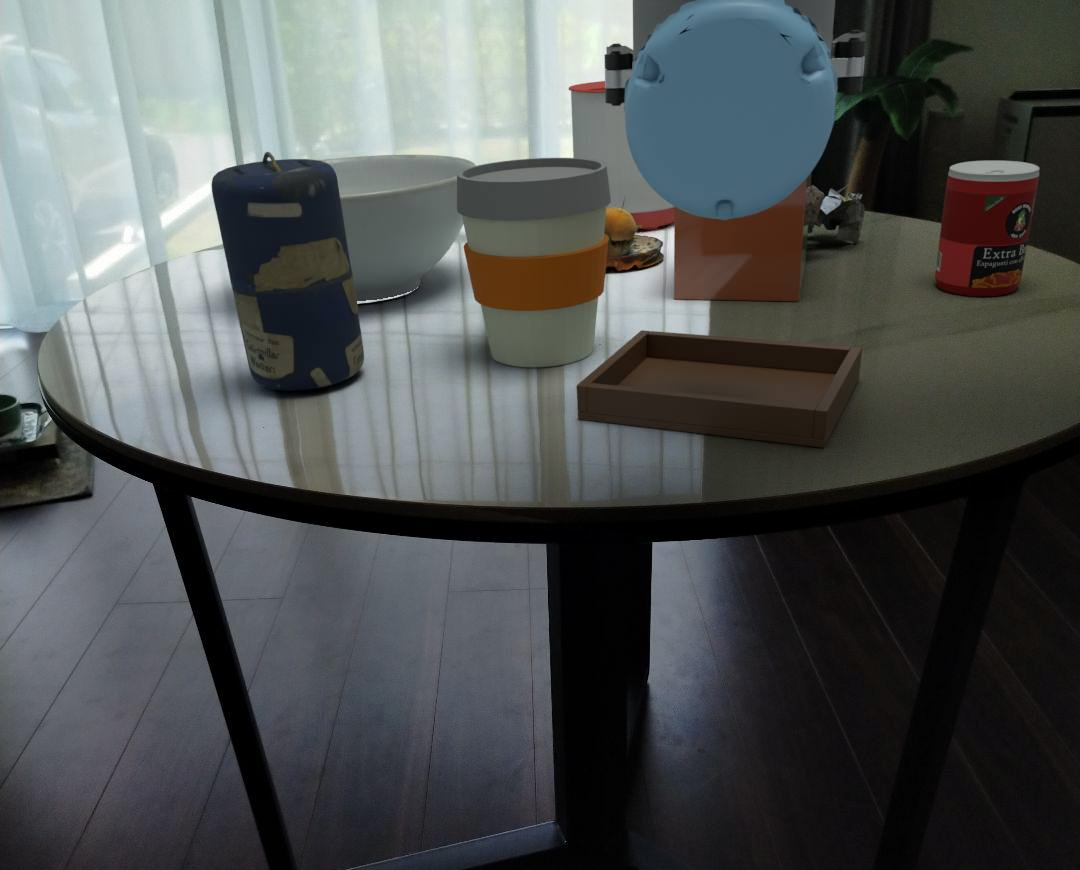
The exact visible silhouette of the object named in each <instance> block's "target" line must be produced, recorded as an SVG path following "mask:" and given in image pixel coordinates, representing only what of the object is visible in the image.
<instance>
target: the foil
mask: <svg viewBox="0 0 1080 870" xmlns="http://www.w3.org/2000/svg"><path fill="white" fill-rule="evenodd" d="M849 185H850V183H848V184H847V185H845V186H844V187H842V188H840V189H839V190H835V189H833V188H830V189H829V191H828V195H825V194H824V192H822V191H821V190H820V189H819V188H818V187H816V186H815V185H814V184H811V190H810V204H809V219H808V233H807V236H808V235H809V234H812V233H813V232H814V231H813V229H814V228H815V226H816V227H818V228H822V227H821V226H822V225H823V226H824V228H825V230H827V231H836V229H837V227H838V231H837V233H836V236H835V240H837V241H843V242H846V243H848V244H853V245H854V244H856V243H857V242H858V241H859V240H860V238H861V231H862V228H863V221H864V218H865V210H866V208H865V204H864V200H863V193H861V192H857V193H852V192H851V193H850V192H847V193H846V197H845V196H843V195H842V194H840V193H841V192H842V191H844V189H846V188H847V187H849ZM861 201H862V202H861Z"/></svg>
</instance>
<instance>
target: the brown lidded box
mask: <svg viewBox="0 0 1080 870" xmlns="http://www.w3.org/2000/svg"><path fill="white" fill-rule="evenodd" d="M812 172H813V171H812ZM812 172H811V173H810V174H809V176H808V177H807V178H806V179H805V180H804V182H803V183H802V184H800V185H799V186H798V187H797V188H796V189H795V190H794V191H793V192H792V193H791V194H790V195H788V196H787V197H786V198H785V199H783V200H782V201H780V202H779V203H777V204H775V205H773V206H771V207H770V208H768V209H766V210H763V211H761V212H758V213H755V214H752V215H749V216H745V217H740V218H733V219H728V220H721V219H713V218H706V217H701V216H696V215H693V214H690V213H688V212H685V211H683V210H681V209H679V208H677V207H675V221H674V225H673V227H674V229H673V230H674V231H673V232H674V235H673V236H674V237H673V239H674V241H673V243H674V245H673V249H674V250H673V299H674V300H693V301H696V300H697V301H698V300H700V301H701V300H702V301H704V300H705V301H746V302H747V301H749V302H750V301H751V302H752V301H753V302H754V301H756V302H799V300H800V297H801V291H802V287H803V281H804V276H805V271H806V260H807V247H808V235H807V234H809V233H808V219H809V204H810V190H811V186H812Z"/></svg>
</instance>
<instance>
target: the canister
mask: <svg viewBox="0 0 1080 870" xmlns="http://www.w3.org/2000/svg"><path fill="white" fill-rule="evenodd" d="M268 158H269V159H270V160H268ZM319 160H320V159H310V158H308V159H307V158H289V159H275V157H274V155H273V154H272V152H270V151H265V152H264V154H263V157H262V161H255V162H248V163H242V164H238V165H233V166H229V167H226V168H224V169H222V170H220V171H218V172H216V173H215V174H214V175H213V177H212V180H211V193H212V199H213V204H214V209H215V212H216V217H217V223H218V228H219V231H220V236H221V240H222V247H223V252H224V255H225V256H224V257H225V260H226V265H227V266H226V267H227V270H228V275H229V281H230V285H231V288H232V293H233V298H234V304H235V308H236V312H237V317H238V323H239V327H240V332H241V336H242V341H243V345H244V350H245V351H244V352H245V355H246V360H247V365H248V368H249V373H250V375H251V376H252V379H253V380H254V381H255V382H256V383H257V384H258V385H260V386H263V387H265V388H268V389H271V390H276V391H288V392H290V391H291V392H292V391H307V390H314V389H319V388H324V387H328V386H332V385H335V384H338V383H341V382H343V381H345V380H347V379H349V378H351V377H352V376H354V375H356V374H357V373H358V372H359V371H360V370H361V369H362V367H363V365H364V361H365V350H364V344H363V343H364V342H363V335H362V328H361V323H360V322H361V321H360V316H359V315H360V314H359V305H357V299H356V293H355V286H354V280H353V274H352V269H351V264H350V258H349V252H348V246H347V239H346V232H345V226H344V219H343V212H342V206H341V200H340V194H339V187H338V180H337V176H336V173H335V171H334V169H333V168H332V167H331V166H330V165H329V164H327V163H325V162H323V161H319Z"/></svg>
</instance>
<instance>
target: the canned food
mask: <svg viewBox="0 0 1080 870" xmlns="http://www.w3.org/2000/svg"><path fill="white" fill-rule="evenodd" d="M1040 169H1041V168H1040V167H1039V166H1038V165H1037V164H1034V163H1029V162H1024V161H1014V160H996V159H995V160H972V161H964V162H958V163H955V164H952V165H950V167H949V169H948V170H949V171H948V173H947V180H946V185H945V194H944V199H943V201H944V202H943V207H942V208H943V209H942V215H941V224H940V231H939V232H940V233H939V238H938V239H939V240H938V247H937V256H936V263H935V273H934V279H935V285H936V287H937V288H938V289H940V290H942V291H944V292H946V293H950V294H954V295H959V296H967V297H983V298H984V297H998V296H1005V295H1008V294H1011V293H1013V292H1015V291H1016V290H1017V288H1018V286H1019V284H1020V282H1021V280H1022V276H1023V270H1024V265H1025V260H1026V259H1025V258H1026V253H1027V247H1028V242H1029V236H1030V232H1031V225H1032V220H1033V216H1034V215H1033V214H1034V210H1035V209H1034V208H1035V204H1036V203H1035V202H1036V198H1037V192H1038V184H1039V180H1040V179H1039V178H1040Z"/></svg>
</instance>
